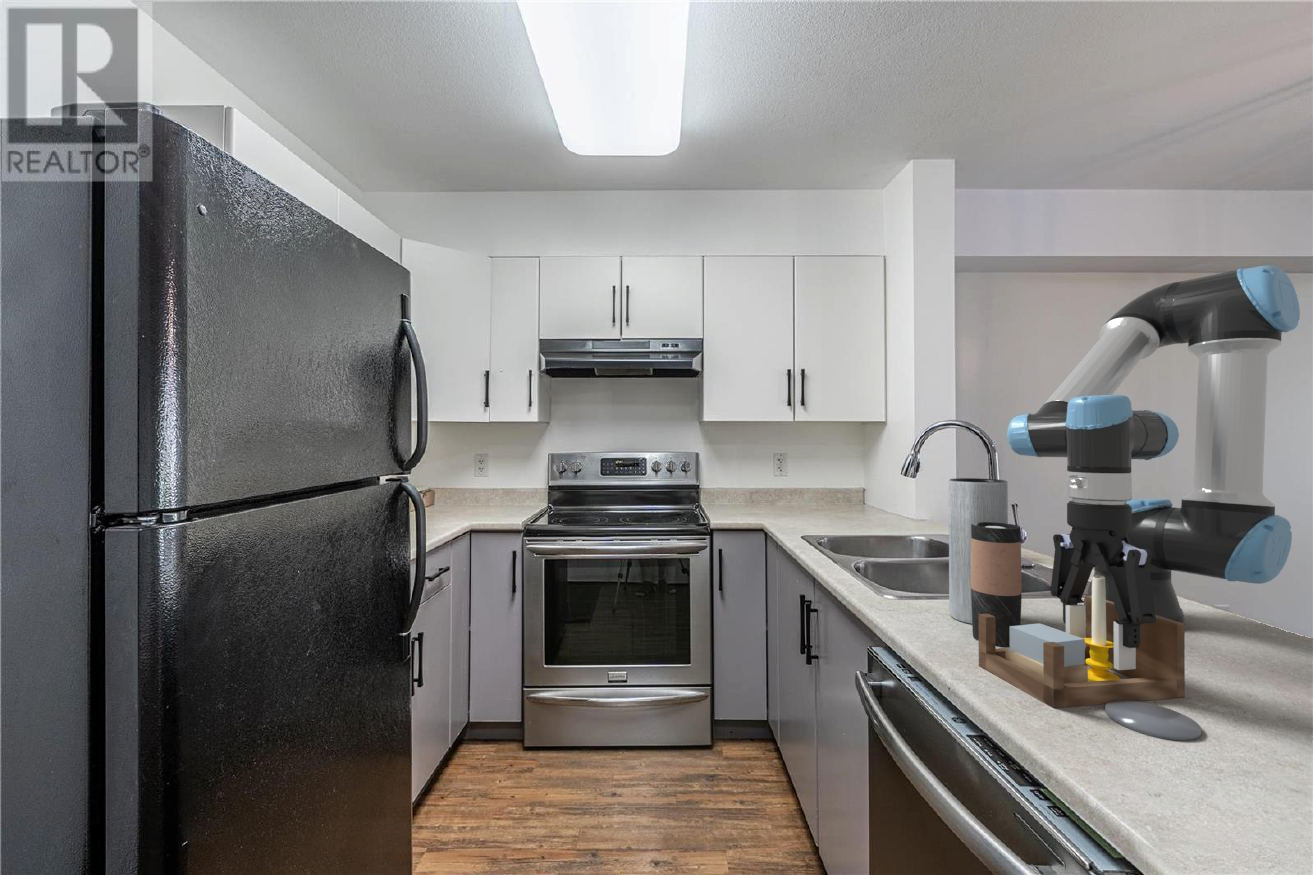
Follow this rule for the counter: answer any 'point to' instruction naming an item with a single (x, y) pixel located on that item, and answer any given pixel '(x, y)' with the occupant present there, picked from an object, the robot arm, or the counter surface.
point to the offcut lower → (1070, 672)
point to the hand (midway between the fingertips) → (1099, 657)
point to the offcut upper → (1033, 635)
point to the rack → (1154, 657)
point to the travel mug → (996, 577)
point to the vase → (968, 507)
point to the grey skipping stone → (1153, 720)
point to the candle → (1099, 635)
